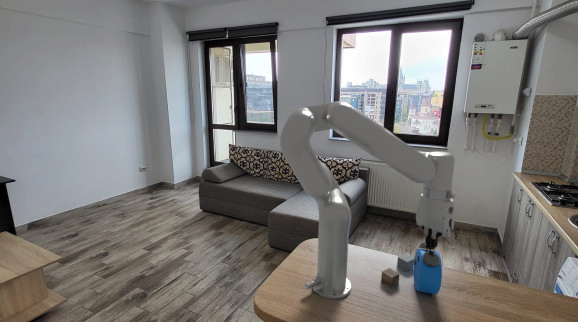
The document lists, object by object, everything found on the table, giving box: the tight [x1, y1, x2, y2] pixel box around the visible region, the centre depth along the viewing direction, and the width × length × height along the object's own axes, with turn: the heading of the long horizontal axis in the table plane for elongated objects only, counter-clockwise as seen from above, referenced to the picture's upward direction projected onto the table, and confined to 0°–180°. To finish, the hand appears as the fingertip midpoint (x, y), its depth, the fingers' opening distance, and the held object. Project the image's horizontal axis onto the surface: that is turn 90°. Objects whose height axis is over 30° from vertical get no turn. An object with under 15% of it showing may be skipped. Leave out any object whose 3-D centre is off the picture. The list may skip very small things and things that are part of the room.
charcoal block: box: [396, 253, 415, 273], centre depth 107 cm, size 4×4×4 cm
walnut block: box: [380, 267, 401, 289], centre depth 98 cm, size 4×4×4 cm
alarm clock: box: [412, 241, 443, 298], centre depth 94 cm, size 13×6×15 cm, turn 165°
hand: (430, 247), depth 92 cm, fingers closed
